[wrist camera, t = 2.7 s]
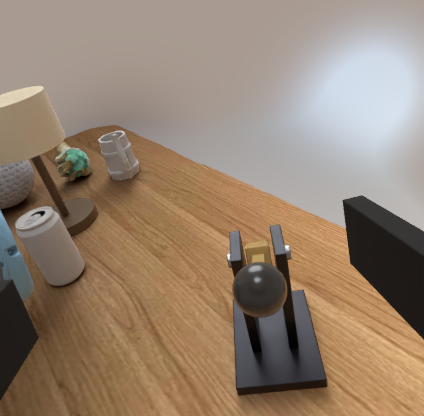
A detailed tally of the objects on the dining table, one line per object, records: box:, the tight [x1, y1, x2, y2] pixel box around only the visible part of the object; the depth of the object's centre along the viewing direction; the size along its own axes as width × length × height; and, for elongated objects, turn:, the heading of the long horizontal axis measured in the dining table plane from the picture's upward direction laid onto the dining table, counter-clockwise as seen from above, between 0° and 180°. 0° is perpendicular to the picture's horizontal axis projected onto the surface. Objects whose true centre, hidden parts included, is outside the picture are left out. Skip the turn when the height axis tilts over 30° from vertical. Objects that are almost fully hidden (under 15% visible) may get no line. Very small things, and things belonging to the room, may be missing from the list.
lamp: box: [0, 86, 98, 236], centre depth 68 cm, size 13×13×26 cm
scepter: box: [55, 142, 91, 181], centre depth 100 cm, size 9×8×30 cm
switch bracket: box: [227, 225, 327, 395], centre depth 38 cm, size 12×9×15 cm
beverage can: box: [15, 207, 85, 286], centre depth 57 cm, size 6×6×12 cm
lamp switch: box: [233, 241, 287, 318], centre depth 29 cm, size 14×4×4 cm, turn 179°
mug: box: [98, 131, 139, 181], centre depth 85 cm, size 8×12×12 cm, turn 27°
